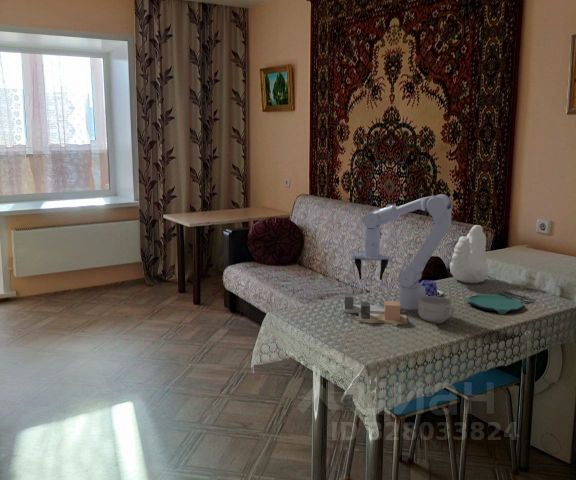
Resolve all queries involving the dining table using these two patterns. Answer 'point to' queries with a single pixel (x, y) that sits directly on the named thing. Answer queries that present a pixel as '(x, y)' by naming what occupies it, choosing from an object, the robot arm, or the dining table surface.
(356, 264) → the robot arm
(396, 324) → the lane board
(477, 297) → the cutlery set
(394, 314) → the terracotta cube
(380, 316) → the tan shallow tray
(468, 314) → the dining table surface
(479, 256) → the decorative rooster
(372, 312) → the grey strip
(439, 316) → the teacup
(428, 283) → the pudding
